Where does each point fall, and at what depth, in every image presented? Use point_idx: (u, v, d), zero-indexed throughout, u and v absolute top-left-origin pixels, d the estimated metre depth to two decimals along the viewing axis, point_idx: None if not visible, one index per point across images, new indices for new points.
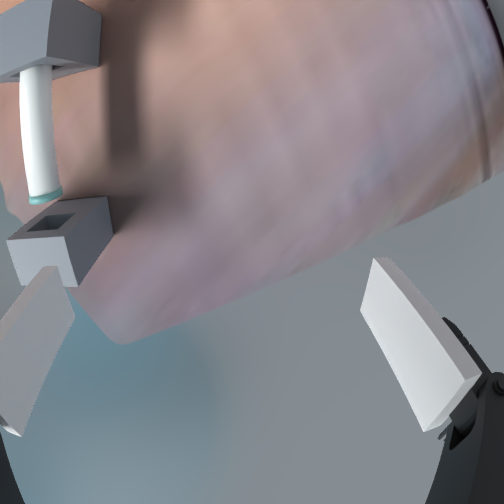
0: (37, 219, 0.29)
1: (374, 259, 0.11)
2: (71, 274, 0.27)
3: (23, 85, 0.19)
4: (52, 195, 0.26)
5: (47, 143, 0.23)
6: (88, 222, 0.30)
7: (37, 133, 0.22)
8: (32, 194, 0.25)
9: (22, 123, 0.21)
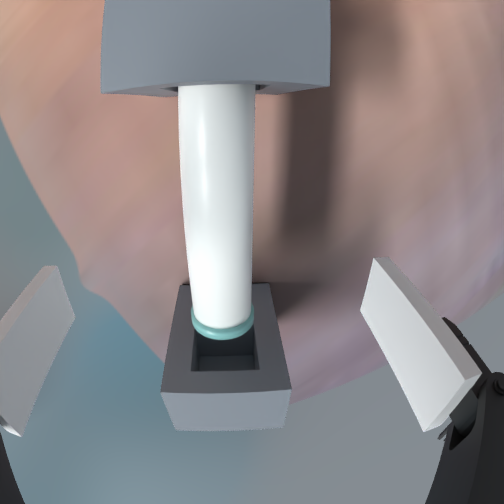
0: (184, 334, 0.23)
1: (374, 259, 0.11)
2: (280, 419, 0.21)
3: (206, 118, 0.12)
4: (249, 323, 0.19)
5: (250, 243, 0.17)
6: None
7: (240, 228, 0.16)
8: (212, 324, 0.18)
9: (200, 202, 0.15)
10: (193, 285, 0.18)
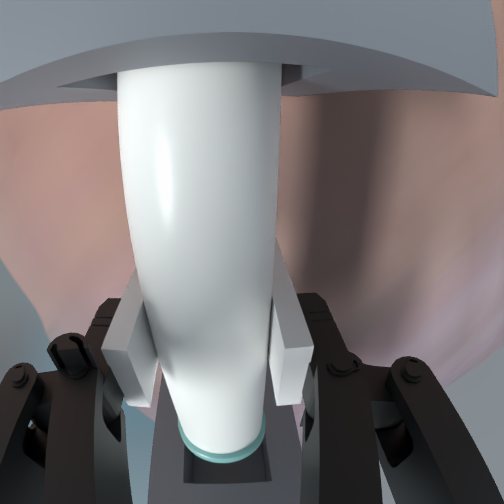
0: (173, 429, 0.16)
1: None
2: None
3: (169, 151, 0.05)
4: (260, 440, 0.12)
5: (265, 361, 0.10)
6: None
7: (249, 355, 0.08)
8: (208, 449, 0.11)
9: (172, 321, 0.07)
10: (177, 409, 0.10)
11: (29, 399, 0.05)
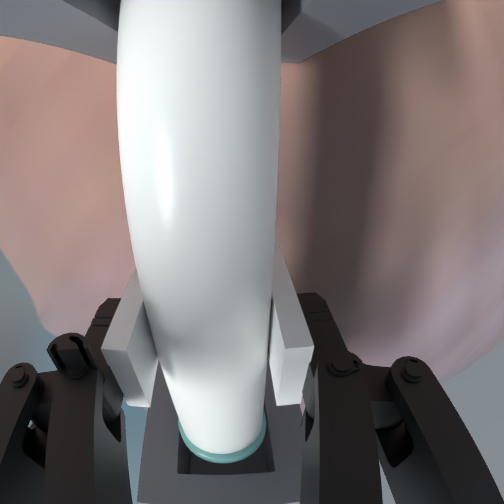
0: (167, 414, 0.15)
1: None
2: None
3: (169, 150, 0.05)
4: (260, 440, 0.12)
5: (266, 361, 0.10)
6: None
7: (249, 354, 0.08)
8: (208, 449, 0.11)
9: (172, 321, 0.07)
10: (177, 409, 0.10)
11: (29, 399, 0.05)
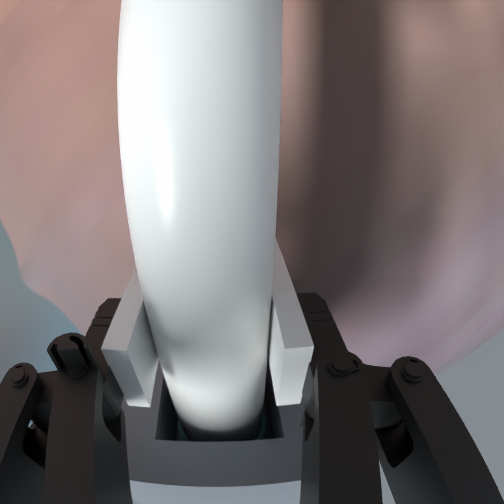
0: None
1: None
2: None
3: (170, 151, 0.05)
4: None
5: (265, 361, 0.10)
6: None
7: (249, 355, 0.08)
8: None
9: (172, 321, 0.07)
10: (177, 409, 0.10)
11: (29, 399, 0.05)
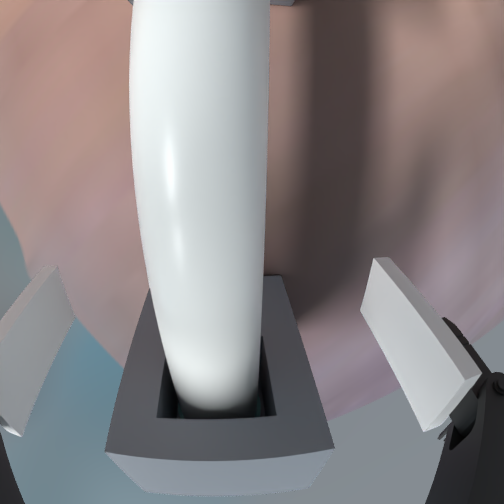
0: (151, 353, 0.14)
1: (374, 259, 0.11)
2: (307, 481, 0.11)
3: (175, 153, 0.06)
4: None
5: (258, 342, 0.11)
6: None
7: (242, 333, 0.09)
8: None
9: (175, 300, 0.08)
10: (177, 391, 0.11)
11: None
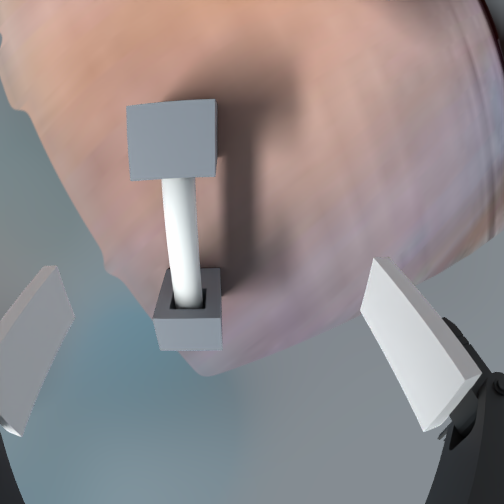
0: (167, 293, 0.42)
1: (374, 259, 0.11)
2: (219, 342, 0.39)
3: (176, 240, 0.35)
4: None
5: (199, 284, 0.39)
6: (220, 297, 0.43)
7: (193, 279, 0.38)
8: None
9: (177, 270, 0.37)
10: (176, 302, 0.40)
11: None
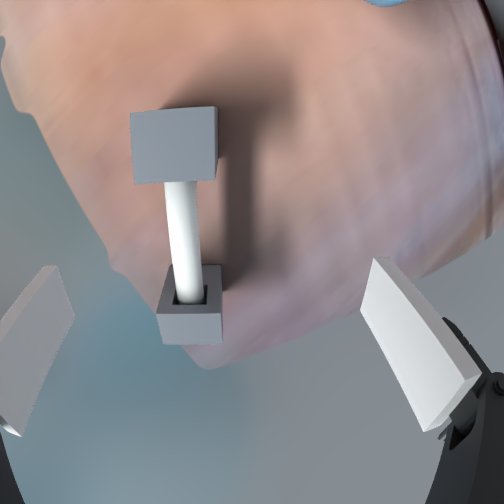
0: (170, 289, 0.44)
1: (374, 259, 0.11)
2: (219, 336, 0.41)
3: (179, 239, 0.36)
4: None
5: (201, 281, 0.41)
6: None
7: (195, 276, 0.40)
8: None
9: (179, 267, 0.38)
10: (178, 298, 0.42)
11: None
